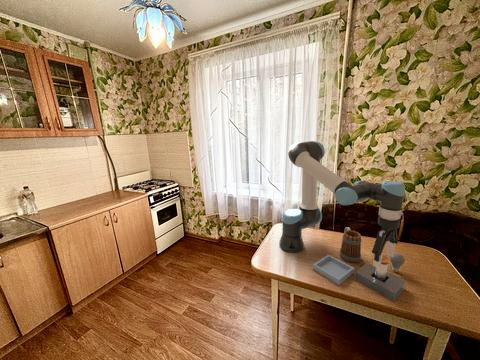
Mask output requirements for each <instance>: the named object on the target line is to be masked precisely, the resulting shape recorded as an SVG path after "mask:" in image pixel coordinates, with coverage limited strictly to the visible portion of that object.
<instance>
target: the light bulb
mask: <svg viewBox="0 0 480 360" xmlns="http://www.w3.org/2000/svg"><path fill="white" fill-rule="evenodd" d="M389 262H391V271H392V272H396V273H398V272H399V270H400V268H401V266H403V265H405V262H406V260H405V256H404V255H403V254H402V253H400V252H394V254H393V257H392V256H389Z"/></svg>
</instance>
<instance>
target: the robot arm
mask: <svg viewBox="0 0 480 360" xmlns="http://www.w3.org/2000/svg"><path fill="white" fill-rule="evenodd" d="M325 153H326V152H325V147H324V145H323V144H322V143H321V142H319V141H315V140H310V141H299V142H295V143H293V144H291V146H290V147H289V149H288V154H287V155H288V159H289V161H290V162H291V163H292V164H293V165H294V166H295V167H297V168H301V169H302V170H301V171H302V173H301V174H302V176H301V183H302V184H301V185H302V186H301V203H299V206H298V207H299V208H288V209H286V210H285V211H283V212H282V218H281V219H282V228H281V229H282V233H281V237H280V239H279V248H280V249H281V250H283V251H284V252H287V253H293V254H295V253H301V252H302V251H303V250H304V249H305V243H304V240H303V236H302V231H303V230H304V229H307V228H310V227H314V226H317V225H318V224H320V223H321V222H322V219H323V212H322V211H321V209H320V208H319V205H318V204H317V189H318V188H317V183H318V182H319V183H320V184H321V185H322V186H324V187H325V188H327V189H328V190H329V191H330V192H331V193H333V194H334V199H336V202H337V203H338V204H340V205H341V206H350V205H354V204H356V203H359V202H363V201H366V200H372V201H376V202H379V209H378V217H377V224H378V225H379V226H380V227H381V228H380V230H378V231H377V234H376V238H375V241H374V244H373V247H372V250H371V253H372V254H373V258H372V259H373V260H372V265H373V266H375V267H377V268H379V269H380V267H381V260H382V255H383V254H382V253H383V250H384V249H385V246H386V251H385V255H387V256H389V257H390V256H392V257H393V254H394V253H395V247H396V244H397V245H398V243H399V241H398V229H399V228H400V225H401V224H400V223H401V218H402V217H401V216H403V215H404V214H403V213H404V212H402V210H403V205H404V199H405V195H406V193H405V192H406V191H405V190H406V187H405V184H404V183H403V182H401V181H396V180H385V181H383V182H382V184H380V183H375V182H371V181H366V180H356V181H355V182H353V184H351V183H350V182H348V181H346V180H345V179H344V178H342V177H341V176H339V175H338V174H337V173H335V172H333V171H332V170H331V169H329V168H327V166H325V165H324V164H322V163H321V160H322V159H323V158H324V157H325Z"/></svg>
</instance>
